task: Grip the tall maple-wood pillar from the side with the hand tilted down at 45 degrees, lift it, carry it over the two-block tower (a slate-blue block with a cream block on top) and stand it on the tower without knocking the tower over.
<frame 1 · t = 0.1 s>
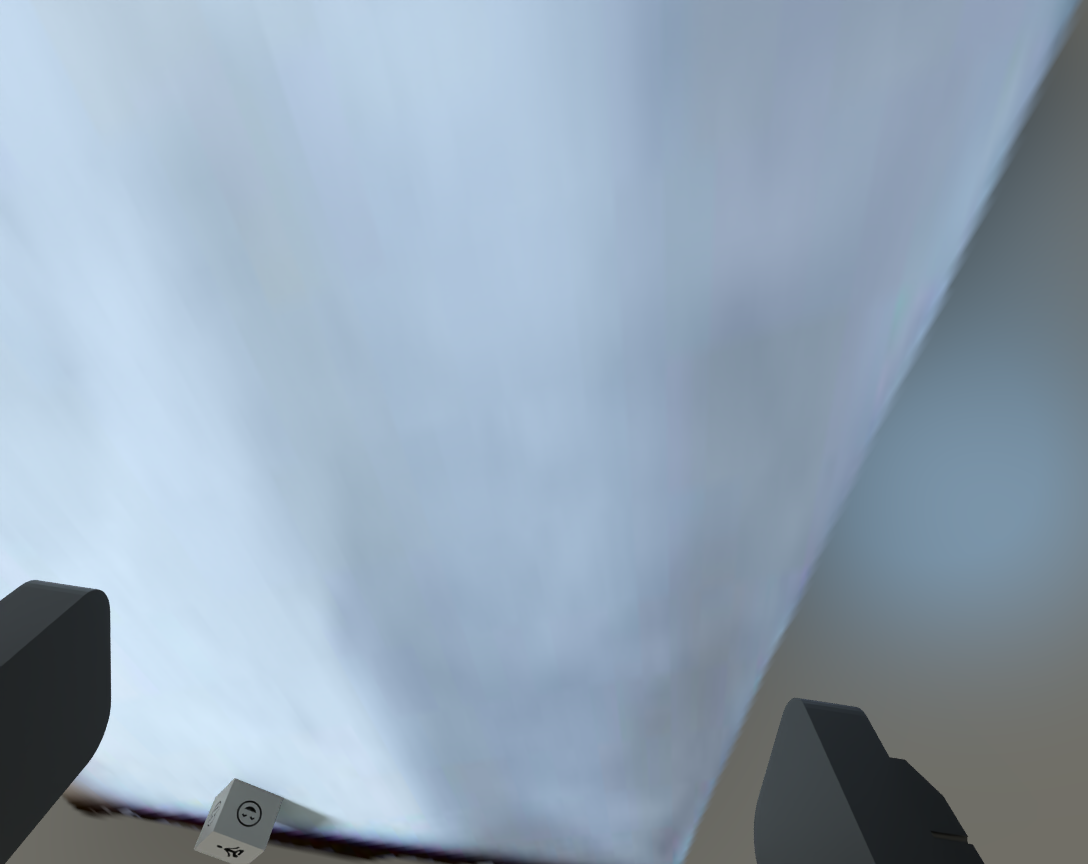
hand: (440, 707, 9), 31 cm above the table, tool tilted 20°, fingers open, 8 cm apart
dice cube: (250, 794, 77), on the table
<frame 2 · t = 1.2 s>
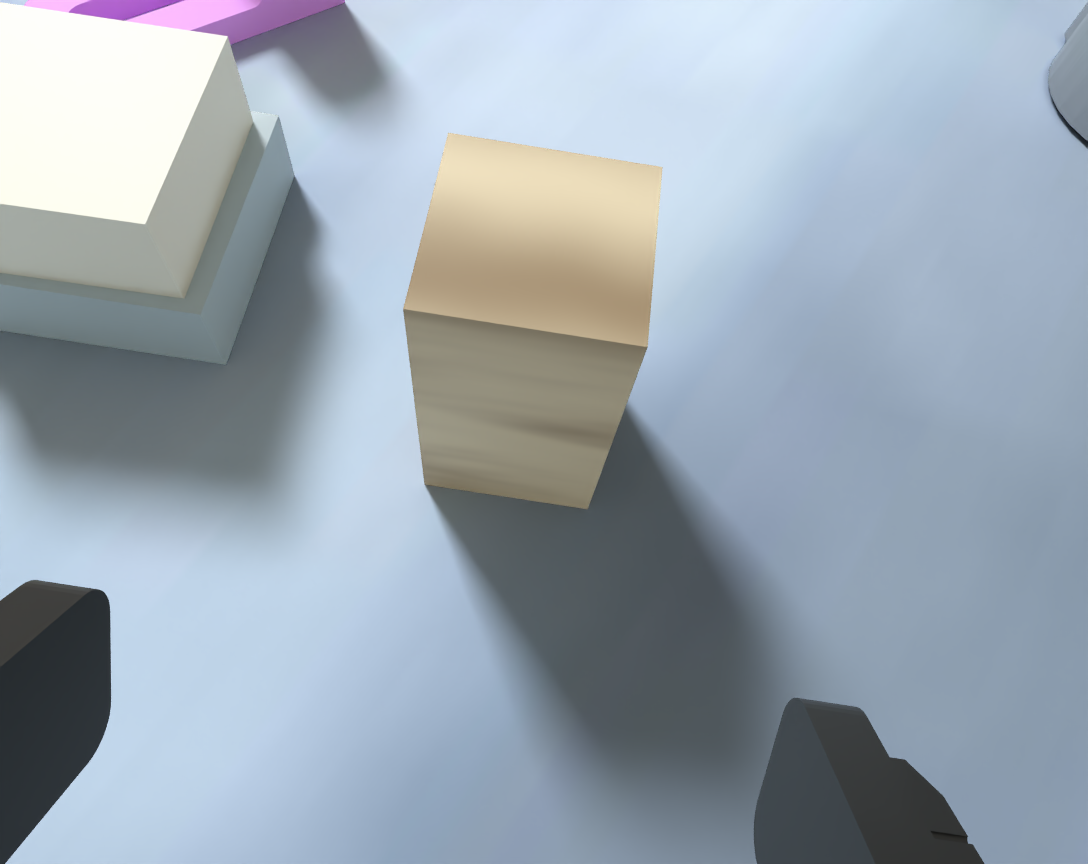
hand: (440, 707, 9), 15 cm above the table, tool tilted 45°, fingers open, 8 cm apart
maple pillar: (518, 424, 28), on the table
tower top: (103, 187, 27), point 3 cm above the table
tower base: (147, 253, 30), on the table
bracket: (186, 21, 36), on the table
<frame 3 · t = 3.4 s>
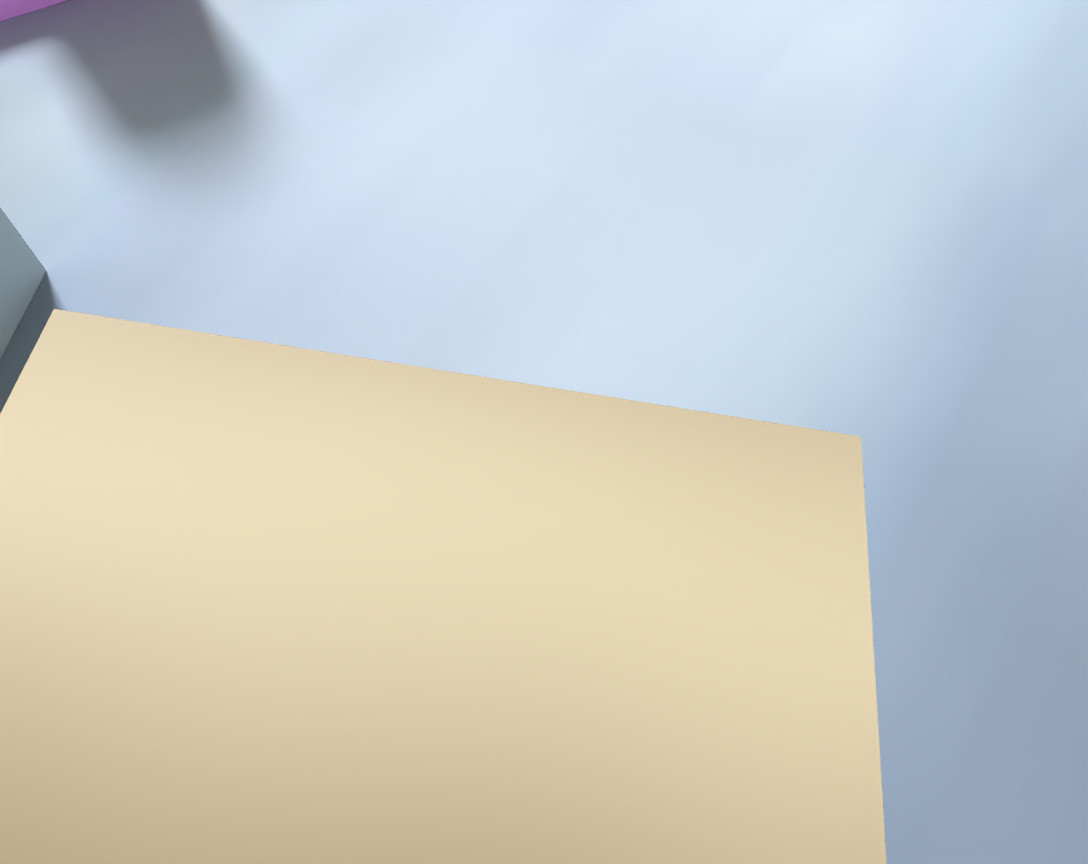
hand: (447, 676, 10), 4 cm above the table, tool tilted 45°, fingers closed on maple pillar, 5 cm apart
maple pillar: (433, 836, 13), on the table, touching gripper
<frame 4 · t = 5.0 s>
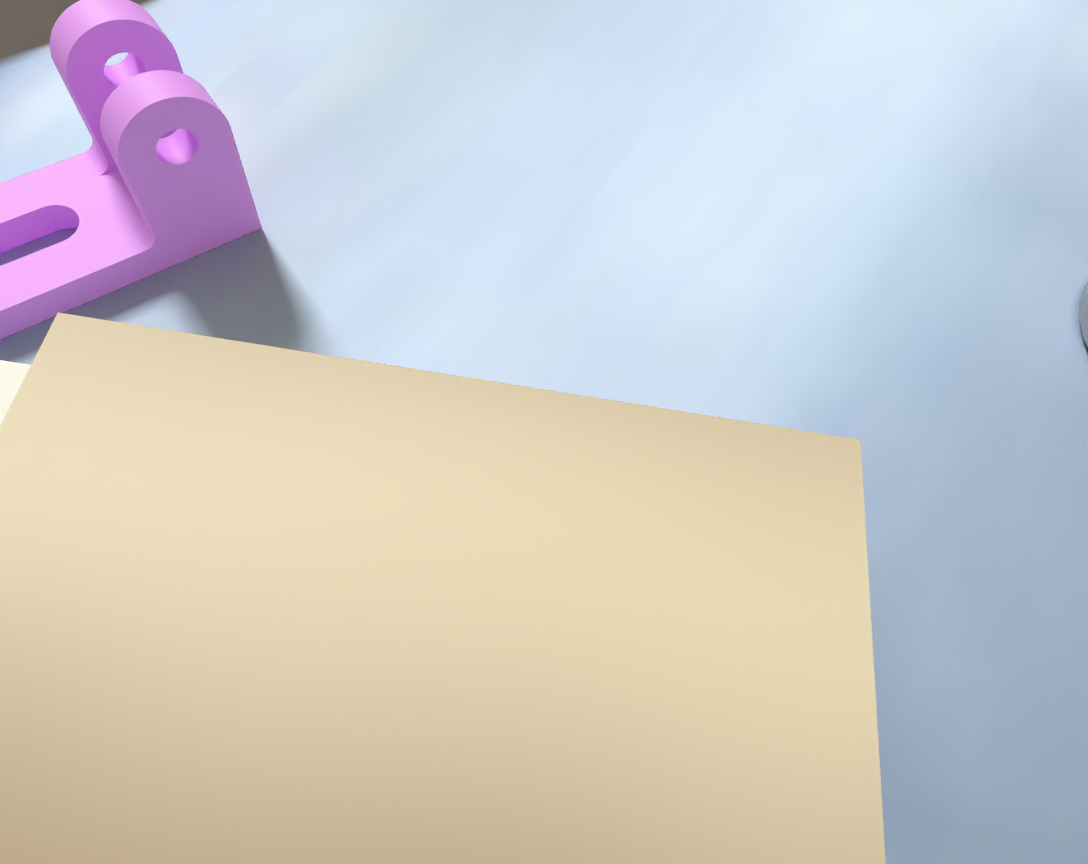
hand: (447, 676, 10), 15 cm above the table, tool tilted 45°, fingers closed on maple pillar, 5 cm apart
maple pillar: (434, 836, 13), point 10 cm above the table, touching gripper
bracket: (70, 253, 30), on the table
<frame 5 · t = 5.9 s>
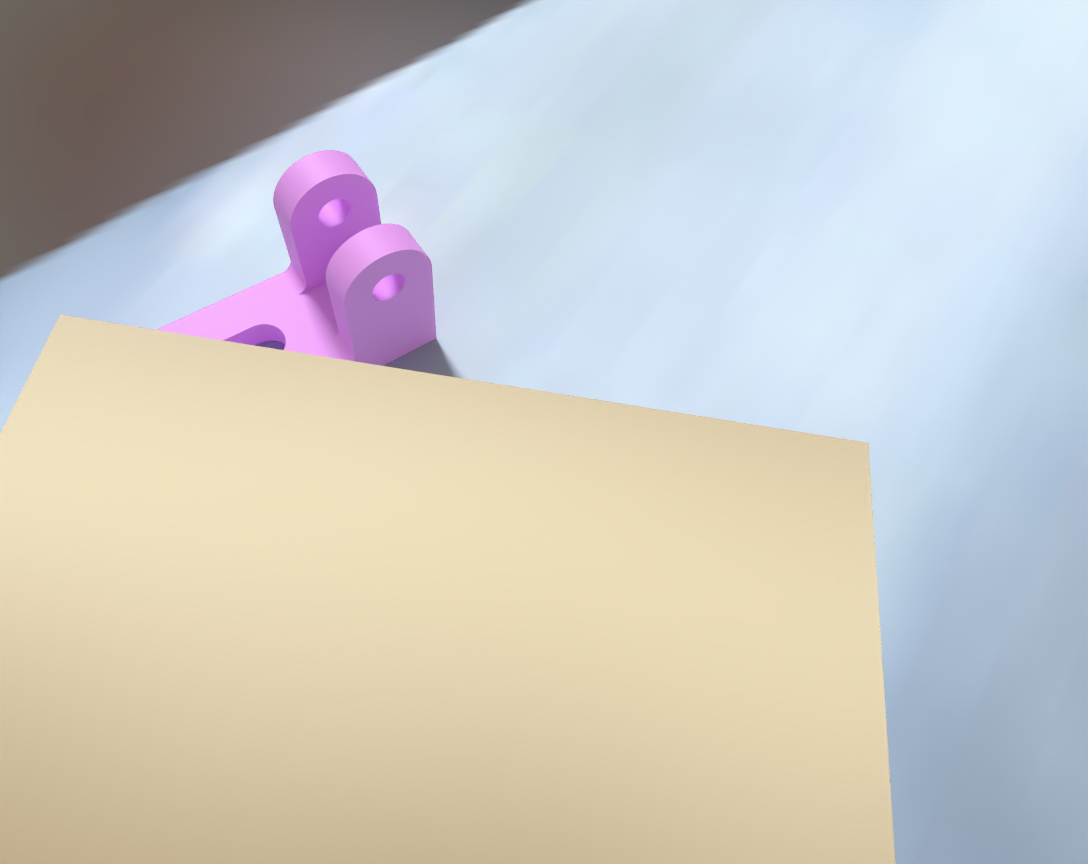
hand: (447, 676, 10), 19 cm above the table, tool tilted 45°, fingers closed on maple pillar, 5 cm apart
maple pillar: (436, 838, 13), point 15 cm above the table, touching gripper
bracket: (270, 363, 34), on the table
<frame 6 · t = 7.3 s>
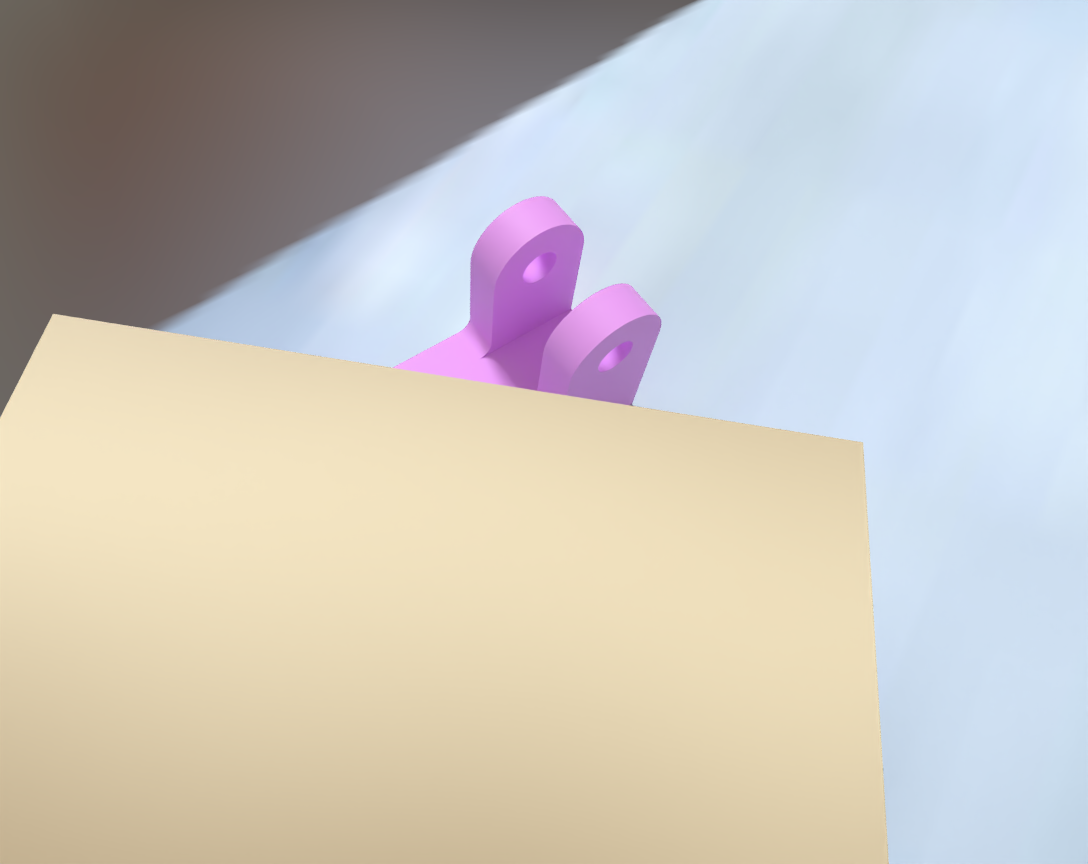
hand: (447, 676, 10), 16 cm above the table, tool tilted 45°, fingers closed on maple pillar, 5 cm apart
maple pillar: (433, 839, 13), point 12 cm above the table, touching gripper
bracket: (448, 437, 30), on the table
when the fingers open (12 cm above the table, at t = 8.7 s): maple pillar moves 1 cm, resting on tower top.
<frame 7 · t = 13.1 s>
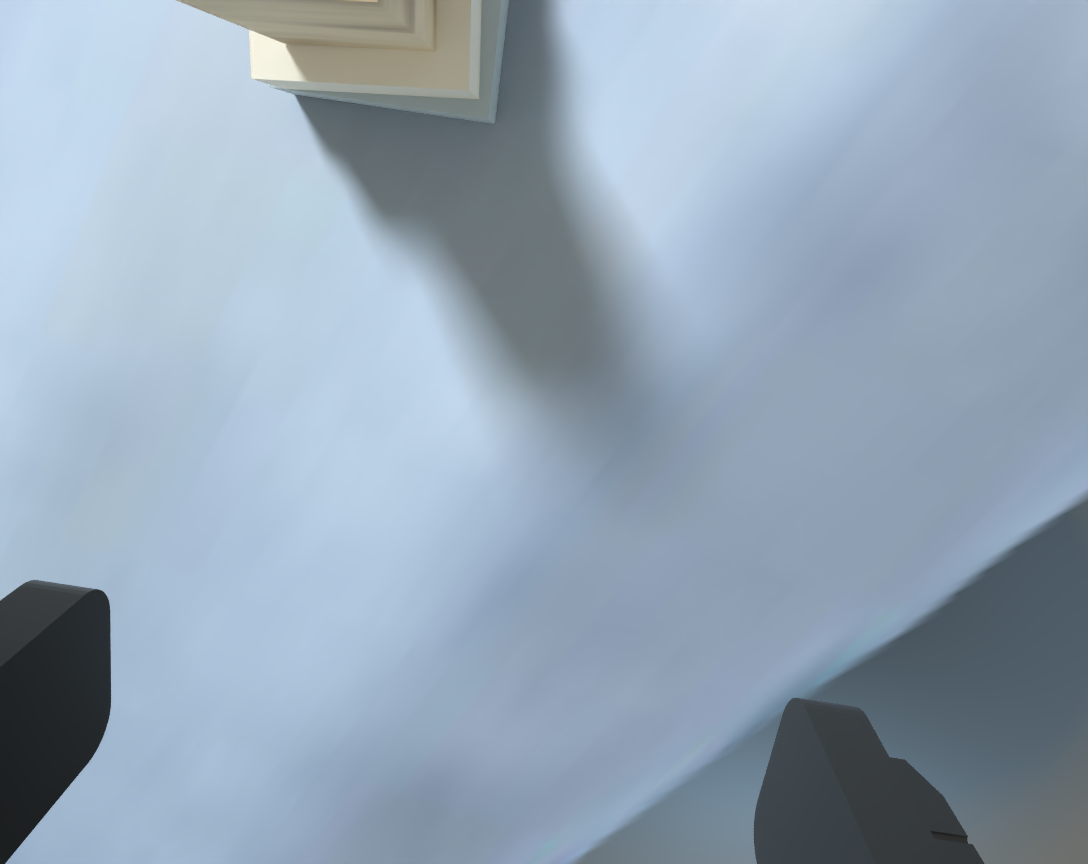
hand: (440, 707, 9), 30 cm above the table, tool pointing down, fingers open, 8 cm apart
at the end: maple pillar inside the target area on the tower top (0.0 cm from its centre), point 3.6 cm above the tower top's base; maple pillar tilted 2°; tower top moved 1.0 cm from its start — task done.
